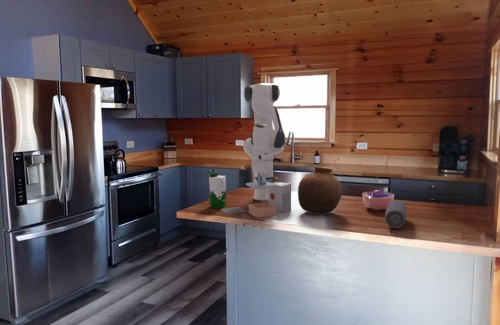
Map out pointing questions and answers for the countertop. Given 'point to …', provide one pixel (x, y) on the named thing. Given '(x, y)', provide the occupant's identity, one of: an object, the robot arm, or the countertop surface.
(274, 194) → the supplement box
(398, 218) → the bluetooth speaker
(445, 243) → the countertop surface
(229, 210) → the mat
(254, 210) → the dish
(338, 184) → the pottery
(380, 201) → the cell model
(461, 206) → the countertop surface
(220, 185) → the milk carton
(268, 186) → the lid
